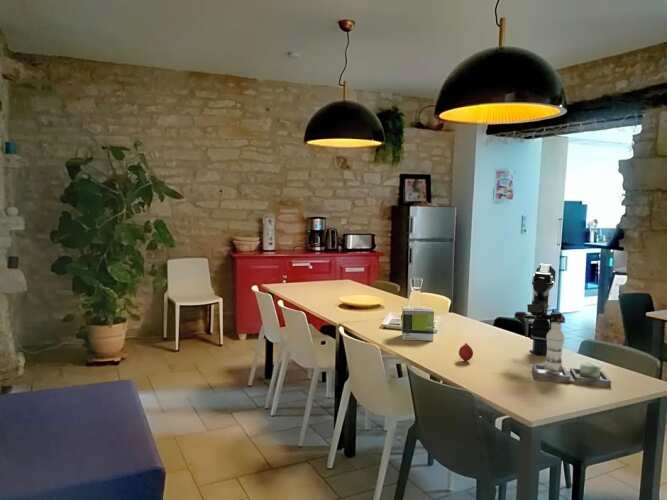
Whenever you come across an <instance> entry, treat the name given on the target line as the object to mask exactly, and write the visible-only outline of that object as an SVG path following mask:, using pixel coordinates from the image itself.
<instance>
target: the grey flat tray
mask: <svg viewBox="0 0 667 500" xmlns="http://www.w3.org/2000/svg"><path fill="white" fill-rule="evenodd" d="M531 368H532V369H531V371H532V373H533V377H534V379H535V380H537V381H546V382H557V383H562V384H563V383H565V384H575V385H583V386H591V387H592V386H595V387H602V388H610V389H611V388H612V380H611V379H610V378H609V377H608V375H607V374H606V373H605V371H604V370H601V368H602V366H601V365H600V364H598V363H594V362H585V361H584V362H581V363H580V365H579V368H576V367H575V368H574V367H569V371H567V368H566V367H564V366H562V372H561V373H560V374H550V373H547V372H546V371H545V369H544V364H536V363H535V364H534V363H533V364H532V367H531Z"/></svg>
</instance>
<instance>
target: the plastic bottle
mask: <svg viewBox="0 0 667 500" xmlns="http://www.w3.org/2000/svg"><path fill="white" fill-rule="evenodd" d="M561 329H562V323H558V322H551V329H550V331H549V332H548V333H547V355H545V356H546V357H545V360H544V364H543V365H544V369H545V371H546V372H547V373H550V374H560V373H561V372H562V367H563V361H562V360H563V359H562V357H563V355H562V354H563V348H564V347H563V346H564V342H565V338H566V337H565V334H564V333H563V331H562V330H561Z"/></svg>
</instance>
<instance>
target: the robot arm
mask: <svg viewBox="0 0 667 500" xmlns="http://www.w3.org/2000/svg"><path fill="white" fill-rule="evenodd" d="M555 282H556V270H555V269H554V268H553V266H552V264H550V263H539V267H537V268H536V270H535V272H534V274H533V275H532V281H531V285H532V288H533V300H532V301H531V304H530V303H529V304H527V312H526V311H516V312H515V313H514V316H513V317H514V319H515V320H517V321H518V322H519V323H520V324H521V325H522V330H523V333H524V336H525V338H528V335H529V327H530V335H529V336H530V337H529V340H532V349H530V350H529V353H532V354H534V355H536V356H546V355H547V333H548V332H549V331H550V329H551V322H558V323H561V324H565V323H566V318H565V316H564V315H563V314H562V313H561V312H557V311H556V312H553V311H551V313H550V314H548V309H549V296H550V290H551V289H552V288H553V287H554V284H555ZM528 313H530V314H528ZM529 320H533V321H532V326H529V325H530V322H529Z"/></svg>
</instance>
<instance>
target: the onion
mask: <svg viewBox="0 0 667 500" xmlns="http://www.w3.org/2000/svg"><path fill="white" fill-rule="evenodd" d="M458 355H459V357H460V359H462V361H464V362H469V361H470V360H472V358H473V356H474V351H473V348H472V347H471V346H470V345H469V343H467V342H465V343H464V344H463V345H462V346H461V347H459V351H458Z"/></svg>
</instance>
